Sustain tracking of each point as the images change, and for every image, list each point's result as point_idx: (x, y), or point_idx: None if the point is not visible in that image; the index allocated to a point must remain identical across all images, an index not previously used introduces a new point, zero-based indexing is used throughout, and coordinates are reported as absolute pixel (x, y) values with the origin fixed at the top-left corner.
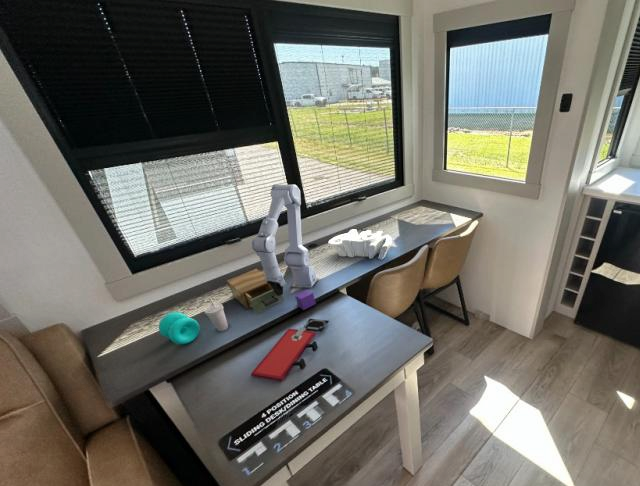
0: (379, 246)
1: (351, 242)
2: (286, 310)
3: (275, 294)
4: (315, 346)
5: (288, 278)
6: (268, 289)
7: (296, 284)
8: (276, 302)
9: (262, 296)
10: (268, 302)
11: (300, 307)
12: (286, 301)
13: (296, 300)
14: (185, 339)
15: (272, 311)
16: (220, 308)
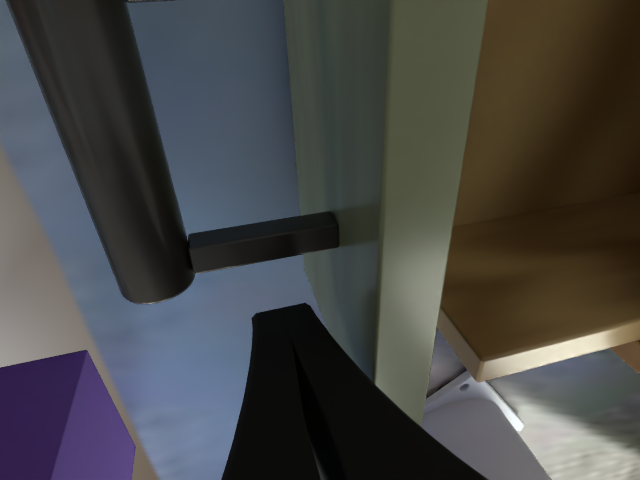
0: None
1: None
2: (73, 226)
3: (339, 291)
4: None
5: (599, 363)
6: (613, 218)
7: (456, 410)
8: (300, 193)
9: (376, 42)
10: (45, 73)
11: (10, 373)
12: (289, 277)
13: (58, 428)
14: None
15: (179, 58)
16: None
